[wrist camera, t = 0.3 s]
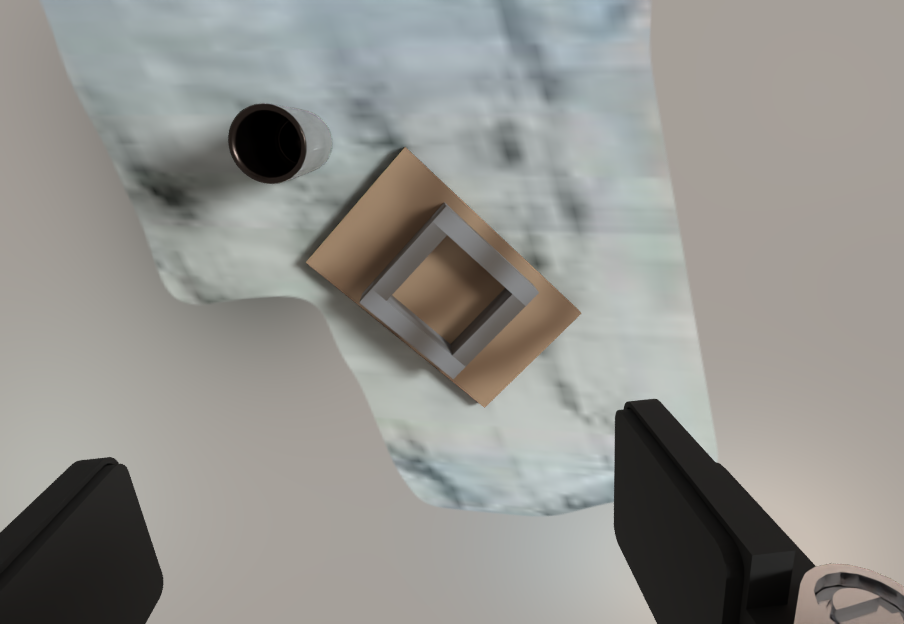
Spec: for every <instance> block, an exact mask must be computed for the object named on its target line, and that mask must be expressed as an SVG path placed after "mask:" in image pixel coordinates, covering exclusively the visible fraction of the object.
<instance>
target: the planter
mask: <svg viewBox="0 0 904 624" xmlns="http://www.w3.org/2000/svg"><path fill="white" fill-rule="evenodd" d="M228 144H229V149H230V153H231V155H232V158H233V160H234V162H235V163H236V165H237V166H238V167H239V168H240V170H241V171H242V172H243V173H245V174H246V175H247V176H249V177H250V178H252V179H254V180H256V181H258V182H261V183H266V184H278V183H282V182H285V181H288V180H291V179H293V178H296V177H299V176H301V175H304V174H306V173H309V172H312V171H314V170H316V169H318V168H320V167H321V166H322V165H323V164H324V163H325V162H326V161H327V160H328V158H329V156H330V154H331V151H332V136H331V133H330V130H329V128H328V126H327V125H326V123H325V122H324V121H323V120H322V119H321V118H320V117H319V116H317V115H315V114H314V113H312V112H309V111H306V110H302V109H296V108H291V107H285V106H280V105H275V104H269V103H259V104H254V105H251V106H248V107H246V108H245V109H243V110H242V111H241V112H239V113H238V114H237V116H236V117H235V118H234V120H233V122H232V124H231V126H230V130H229V135H228Z"/></svg>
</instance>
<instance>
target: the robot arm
mask: <svg viewBox="0 0 904 624" xmlns="http://www.w3.org/2000/svg"><path fill="white" fill-rule="evenodd" d="M614 530H615V535H616V539H617V542H618V544H619V546H620V549H621V551H622V553H623V555H624V557H625V558H626V561H627V563H628V565H629V567H630V569H631V571H632V573H633V575H634V577H635V579H636V581H637V583H638V585H639V587H640V590H641V592H642V593H643V596H644V598H645V600H646V602H647V604H648V606H649V608H650V610H651V612H652V614H653V616H654V618H655V620H656V622H657V624H904V586H902V585H901V584H899V583H897V582H896V581H894V580H892V579H891V578H888V577H886V576H883V575H881V574H879V573H876V572H874V571H871V570H869V569H865V568H861V567H857V566H853V565H848V564H825V565H820V566H815V565H814V564H813V563H812V562H811V561H810V559H809V558H808V557H807V556H806V555H805V554H804V553H803V552H802V551H801V550H800V549H799V548H798V547H797V545H796V544H795V543H794V542H793V541H792V540H791V539H790V538H789V537H788V536H787V535H786V533H785V532H784V531H783V530H782V529H781V528H780V527H779V526H778V525H777V524H776V523H775V522H774V521H773V519H772V518H771V517H770V516H769V515H768V514H767V513H766V512H765V511H764V510H763V509H762V507H761V506H760V505H759V504H758V503H757V502H756V501H755V500H754V499H753V498H752V497H751V496H750V495H749V493H748V492H747V491H746V490H745V489H744V488H743V487H742V486H741V485H740V484H739V483H738V481H737V480H735V478H734V477H733V476H732V475H731V474H730V473H729V472H728V471H727V470H726V469H725V468H724V467H723V466H722V465H721V464H719V463H716V462H714V460H713V459H712V458H711V457H710V456H709V455H708V454H707V453H706V452H705V451H704V449H703V448H702V447H701V446H700V445H699V444H698V443H697V442H696V441H695V440H694V438H693V437H692V436H691V435H690V434H689V433H688V432H687V431H686V430H685V429H684V427H683V426H682V425H681V424H680V423H679V422H678V421H677V420H676V419H675V418H674V416H673V415H672V414H671V413H670V412H669V411H668V410H667V409H666V408H665V407H664V405H663V404H662V403H661V402H660V401H659V400H657V399H648V400H638V401H629V402H626V403H625V406H624V410H618V411H617V412H616V415H615V474H614ZM162 590H163V575H162V572H161V569H160V566H159V563H158V559H157V557H156V553H155V550H154V547H153V544H152V542H151V538H150V535H149V532H148V529H147V526H146V523H145V520H144V517H143V514H142V511H141V508H140V505H139V502H138V499H137V496H136V493H135V490H134V487H133V483H132V481H131V477H130V475H129V472H128V469H127V467H126V466H125V465H123V464H119V463H118V462H117V461H116V460H115V459H114V458H111V457H107V458H98V459H90V460H81V461H77V462H75V463H74V464H72V465H71V466H70V467H69V468H68V469H67V470H66V471H65V472H64V473H63V474H62V475H60V476H59V477H58V478H57V480H55V481H54V482H53V483H52V484H51V485H50V486H49V487H48V488H47V489H46V490H45V491H44V492H43V493H42V494H40V495H39V496H38V497H37V498H36V499H35V500H34V501H33V502H32V503H31V504H30V505H29V506H28V507H27V508H26V509H25V510H24V511H23V512H21V514H19V515H18V516H17V517H16V518H15V519H14V520H13V521H12V522H11V523H10V524H9V525H8V526H7V527H6V528H5V529H4V530H3V531H2V532H0V624H145V623H146V622H147V620H148V618H149V616H150V614H151V613H152V611H153V609H154V607H155V605H156V603H157V602H158V600H159V598H160V596H161V593H162Z"/></svg>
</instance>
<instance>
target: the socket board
mask: <svg viewBox="0 0 904 624" xmlns="http://www.w3.org/2000/svg"><path fill="white" fill-rule="evenodd" d="M306 263H307V264H308V265H310V266H311V267H312V268H313V269H315V270H316V271H317V272H318V273H319V274H321V275H322V276H323V277H324V278H326V279H327V280H328V281H329V282H330V283H332V284H333V285H334V286H335V287H337V288H338V289H339V290H340V291H342V292H343V293H344V294H345V295H346V296H348V297H349V298H350V299H351V300H353V301H354V302H355V303H356V304H358V305H359V306H360V307H361V308H362V309H364V310H365V311H366V312H367V313H369V314H370V315H371V316H372V317H374V318H375V319H376V320H377V321H378V322H380V323H381V324H382V325H383V326H385V327H386V328H387V329H388V330H390V331H391V332H392V333H393V334H394V335H396V336H397V337H398V338H399V339H401V340H402V341H403V342H404V343H406V344H407V345H408V346H409V347H410V348H412V349H413V350H414V351H415V352H417V353H418V354H419V355H420V356H422V357H423V358H424V359H425V360H426V361H428V362H429V363H430V364H431V365H433V366H434V367H435V368H436V369H438V370H439V371H440V372H441V373H442V374H444V375H445V376H446V377H447V378H449V379H450V380H451V381H452V382H454V383H455V384H456V385H457V386H458V387H460V388H461V389H462V390H463V391H465V392H466V393H467V394H468V395H470V396H471V397H472V398H473V399H474V400H476V401H477V402H478V403H479V404H481V405H482V406H483V407H484V408H485V407H486V406H487V405H488V404H489V403H490V402H491V401H492V400H493V399H494V398H495V397H496V396H497V395H498V394H499V393H500V392H501V391H502V390H503V389H504V388H505V387H506V386H507V385H508V384H510V383H511V382H512V381H513V380H514V379H515V378H516V377H517V376H518V375H519V374H520V373H521V372H522V371H523V370H524V369H525V368H526V367H527V366H528V365H529V364H530V363H531V362H532V361H533V360H534V359H535V358H536V357H537V356H538V355H539V354H540V353H541V352H542V351H543V350H544V349H545V348H546V347H547V346H549V345H550V344H551V343H552V342H553V341H554V340H555V339H556V338H557V337H558V336H559V335H560V334H561V333H562V332H563V331H564V330H565V329H566V328H567V327H568V326H569V325H570V324H571V323H572V322H573V321H574V320H575V319H576V318H577V317H578V316H579V315H580V314H581V312H580V311H579V310H578V309H577V308H576V307H575V306H574V305H573V304H572V303H571V302H570V301H569V300H568V299H566V298H565V297H564V296H563V295H562V294H561V293H560V292H559V291H558V290H557V289H556V288H555V287H554V286H553V285H552V284H551V283H549V282H548V281H547V280H546V279H545V278H544V277H543V276H542V275H541V274H540V273H539V272H538V271H537V270H536V269H535V268H534V267H532V266H531V265H530V264H529V263H528V262H527V261H526V260H525V259H524V258H523V257H522V256H521V255H520V254H519V253H518V252H517V251H515V250H514V249H513V248H512V247H511V246H510V245H509V244H508V243H507V242H506V241H505V240H504V239H503V238H502V237H501V236H499V235H498V234H497V233H496V232H495V231H494V230H493V229H492V228H491V227H490V226H489V225H488V224H487V223H486V222H485V221H484V220H482V219H481V218H480V217H479V216H478V215H477V214H476V213H475V212H474V211H473V210H472V209H471V208H470V207H469V206H468V205H467V204H465V203H464V202H463V201H462V200H461V199H460V198H459V197H458V196H457V195H456V194H455V193H454V192H453V191H452V190H451V189H450V188H448V187H447V186H446V185H445V184H444V183H443V182H442V181H441V180H440V179H439V178H438V177H437V176H436V175H435V174H434V173H433V172H431V171H430V170H429V169H428V168H427V167H426V166H425V165H424V164H423V163H422V162H421V161H420V160H419V159H418V158H417V157H415V156H414V155H413V154H412V153H411V152H410V151H409V150H408V149H407V148H406V147H405V148H404V149H403V150H402V151H401V152H400V153H399V155H398V156H397V157H396V158H395V159H394V160H393V162H392V163H391V164H390V165H389V166H388V167H387V169H386V170H385V171H384V172H383V173H382V174H381V175H380V177H379V178H378V179H377V180H376V181H375V182H374V184H373V185H372V186H371V187H370V188H369V189H368V191H367V192H366V193H365V194H364V195H363V196H362V198H361V199H360V200H359V201H358V202H357V203H356V205H355V206H354V207H353V208H352V209H351V210H350V212H349V213H348V214H347V215H346V216H345V217H344V219H343V220H342V221H341V222H340V223H339V224H338V225H337V227H336V228H335V229H334V230H333V231H332V232H331V234H330V235H329V236H328V237H327V238H326V239H325V241H324V242H323V243H322V244H321V245H320V246H319V248H318V249H317V250H316V251H315V252H314V253H313V255H312V256H311V257H310V258H309V259H308V260H307V262H306Z"/></svg>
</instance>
